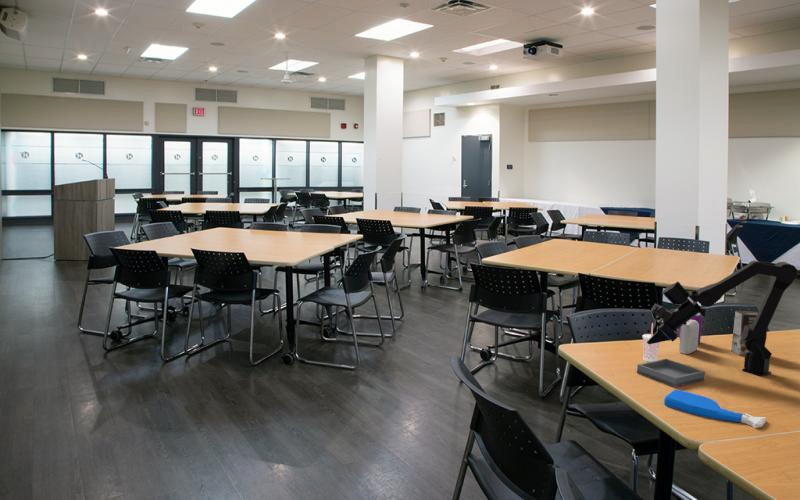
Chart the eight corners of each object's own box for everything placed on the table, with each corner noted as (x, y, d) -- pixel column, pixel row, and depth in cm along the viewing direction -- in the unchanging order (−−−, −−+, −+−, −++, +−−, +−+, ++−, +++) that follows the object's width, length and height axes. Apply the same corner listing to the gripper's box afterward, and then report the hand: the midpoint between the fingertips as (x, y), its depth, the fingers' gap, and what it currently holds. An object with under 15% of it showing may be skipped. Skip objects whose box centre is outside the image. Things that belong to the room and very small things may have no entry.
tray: (704, 380, 184) (704, 371, 184) (674, 387, 178) (675, 378, 177) (665, 366, 197) (666, 358, 197) (637, 372, 190) (637, 364, 190)
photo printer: (687, 347, 221) (689, 316, 219) (698, 349, 217) (701, 319, 216) (677, 352, 213) (679, 321, 212) (689, 355, 210) (691, 323, 209)
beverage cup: (637, 358, 206) (639, 321, 204) (649, 356, 208) (651, 320, 206) (650, 363, 200) (653, 325, 198) (663, 361, 203) (665, 324, 201)
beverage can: (685, 338, 233) (688, 310, 232) (703, 342, 227) (706, 314, 225) (675, 340, 229) (677, 312, 227) (693, 345, 223) (695, 316, 221)
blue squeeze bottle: (662, 397, 163) (759, 425, 146) (675, 387, 171) (768, 412, 154) (661, 406, 163) (758, 435, 146) (674, 396, 171) (767, 422, 154)
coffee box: (738, 355, 210) (742, 314, 208) (730, 350, 217) (734, 310, 214) (764, 356, 209) (768, 315, 207) (755, 351, 216) (759, 311, 214)
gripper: (663, 292, 208) (630, 318, 214) (668, 302, 191) (632, 330, 196) (685, 314, 207) (651, 340, 212) (692, 327, 189) (655, 354, 195)
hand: (647, 340), depth 204 cm, fingers closed on beverage cup, 6 cm apart
